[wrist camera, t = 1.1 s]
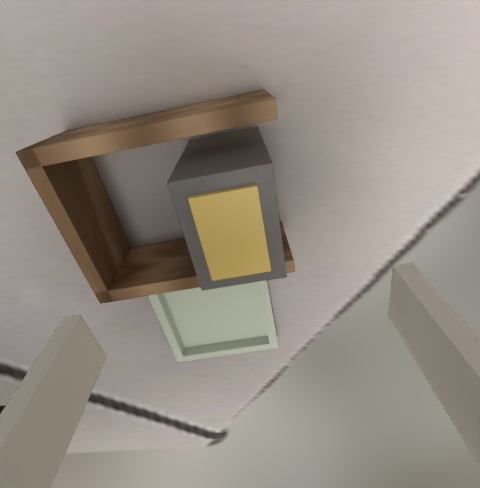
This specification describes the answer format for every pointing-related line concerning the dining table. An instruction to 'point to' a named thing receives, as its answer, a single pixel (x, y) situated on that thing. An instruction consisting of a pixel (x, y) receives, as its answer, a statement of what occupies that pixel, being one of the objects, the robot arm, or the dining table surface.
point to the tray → (217, 320)
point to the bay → (100, 208)
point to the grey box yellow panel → (229, 209)
